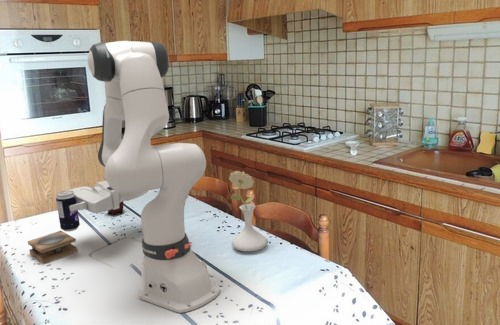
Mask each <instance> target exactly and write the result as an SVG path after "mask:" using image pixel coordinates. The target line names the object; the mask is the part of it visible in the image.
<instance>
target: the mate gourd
mask: <svg viewBox="0 0 500 325" xmlns="http://www.w3.org/2000/svg"><path fill="white" fill-rule="evenodd" d="M102 177H103V178H104V179H105V180H106V177H105V175H102ZM119 207H120V208H119V209H115V210H113V209H111V210H108V211H107V214H108V215H112V217H116V215H123V214H124V213H125V212H124V201H122V202H120V203H119Z"/></svg>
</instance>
